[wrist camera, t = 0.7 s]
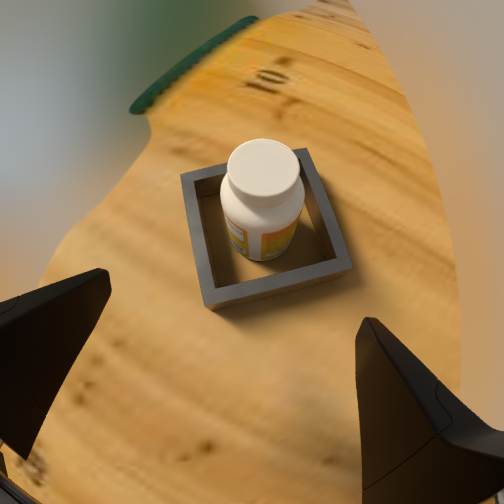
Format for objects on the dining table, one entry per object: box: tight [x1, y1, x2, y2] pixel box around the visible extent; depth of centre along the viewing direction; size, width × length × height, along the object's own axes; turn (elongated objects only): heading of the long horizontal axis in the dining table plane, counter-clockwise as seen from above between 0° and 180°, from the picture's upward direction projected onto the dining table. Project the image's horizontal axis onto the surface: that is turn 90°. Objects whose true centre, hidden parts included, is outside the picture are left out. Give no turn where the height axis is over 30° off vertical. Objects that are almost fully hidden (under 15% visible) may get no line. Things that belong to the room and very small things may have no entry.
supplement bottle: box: [220, 139, 305, 261], centre depth 20 cm, size 5×5×10 cm
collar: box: [180, 148, 353, 311], centre depth 23 cm, size 11×11×3 cm
